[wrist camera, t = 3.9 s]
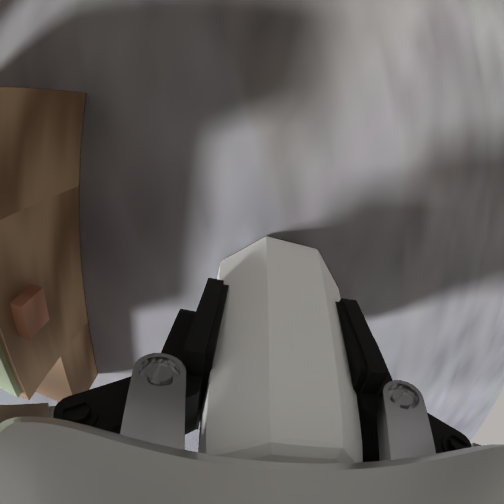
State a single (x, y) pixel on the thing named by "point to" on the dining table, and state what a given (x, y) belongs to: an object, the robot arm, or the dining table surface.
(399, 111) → the dining table surface
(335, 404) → the pepper shaker
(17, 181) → the stand
